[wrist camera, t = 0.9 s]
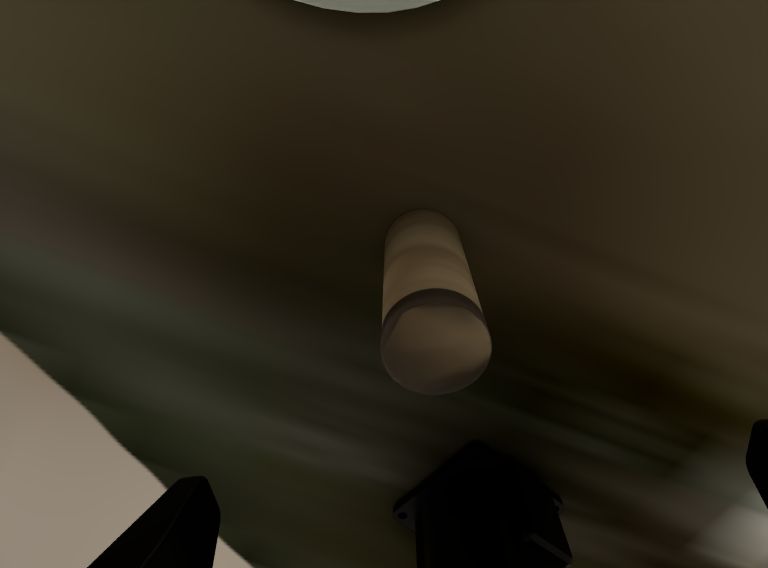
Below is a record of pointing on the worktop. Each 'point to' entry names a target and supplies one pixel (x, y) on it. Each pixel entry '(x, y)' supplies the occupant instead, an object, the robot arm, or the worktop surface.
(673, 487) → the worktop surface
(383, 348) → the dowel
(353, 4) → the disc with square recess
